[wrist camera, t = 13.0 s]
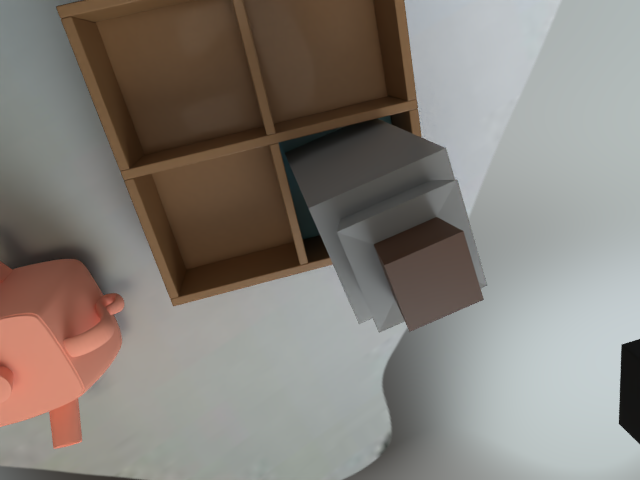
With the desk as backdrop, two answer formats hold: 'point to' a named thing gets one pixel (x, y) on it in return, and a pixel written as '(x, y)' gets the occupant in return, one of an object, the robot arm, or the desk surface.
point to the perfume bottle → (391, 223)
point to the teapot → (53, 342)
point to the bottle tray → (234, 119)
